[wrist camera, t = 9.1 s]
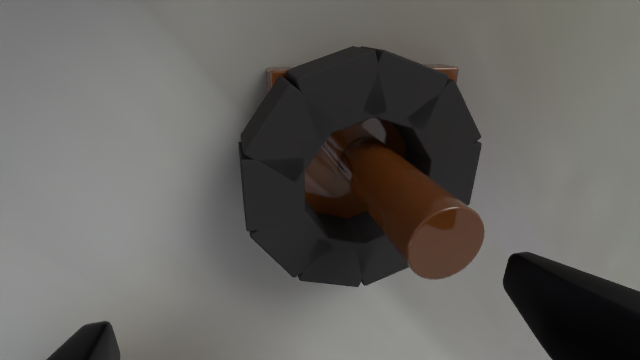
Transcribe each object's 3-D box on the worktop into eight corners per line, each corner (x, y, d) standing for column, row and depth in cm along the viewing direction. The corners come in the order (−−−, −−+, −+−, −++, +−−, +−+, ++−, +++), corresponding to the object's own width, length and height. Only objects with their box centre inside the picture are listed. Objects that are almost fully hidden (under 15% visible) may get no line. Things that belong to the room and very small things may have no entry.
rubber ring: (249, 271, 16) (252, 305, 14) (230, 46, 12) (231, 50, 11) (431, 245, 19) (456, 271, 17) (464, 46, 15) (502, 49, 13)
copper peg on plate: (274, 237, 17) (307, 375, 11) (265, 67, 14) (305, 108, 7) (421, 218, 19) (531, 326, 12) (443, 64, 16) (608, 95, 9)
